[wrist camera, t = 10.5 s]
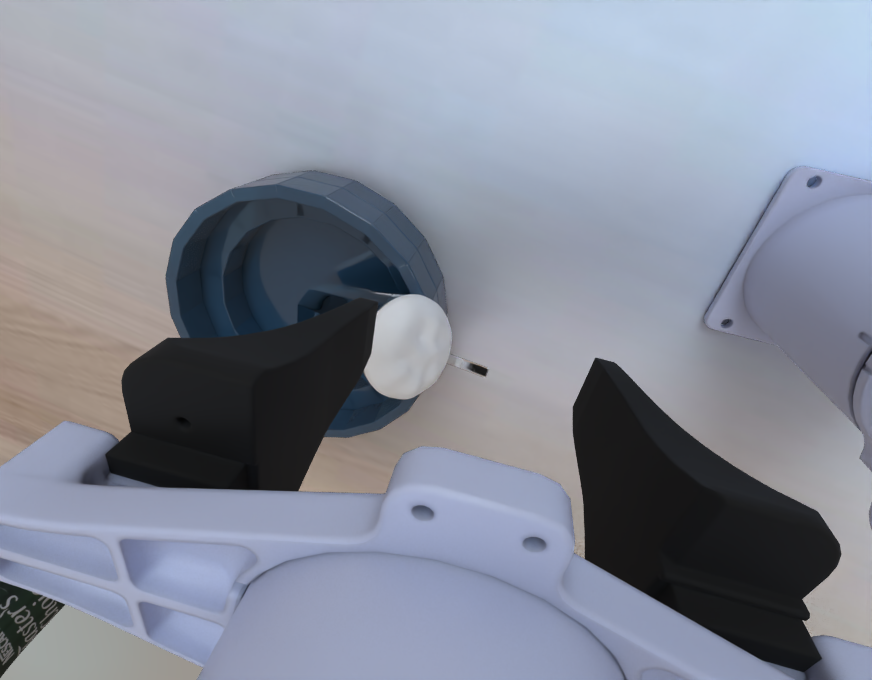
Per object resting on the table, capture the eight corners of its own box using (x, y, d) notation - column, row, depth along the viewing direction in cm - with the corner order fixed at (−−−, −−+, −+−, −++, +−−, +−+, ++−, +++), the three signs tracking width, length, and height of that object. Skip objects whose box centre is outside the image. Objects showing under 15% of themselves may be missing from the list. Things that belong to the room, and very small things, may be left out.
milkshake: (355, 360, 27) (470, 421, 20) (272, 341, 23) (376, 407, 16) (379, 290, 27) (504, 324, 19) (299, 259, 23) (417, 288, 16)
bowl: (473, 205, 22) (462, 229, 18) (424, 415, 30) (408, 464, 26) (210, 141, 23) (146, 152, 19) (226, 361, 30) (182, 401, 27)
